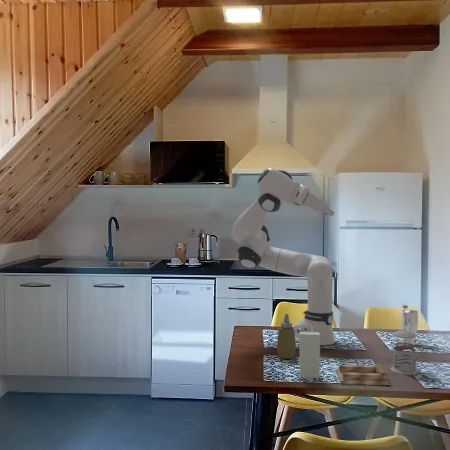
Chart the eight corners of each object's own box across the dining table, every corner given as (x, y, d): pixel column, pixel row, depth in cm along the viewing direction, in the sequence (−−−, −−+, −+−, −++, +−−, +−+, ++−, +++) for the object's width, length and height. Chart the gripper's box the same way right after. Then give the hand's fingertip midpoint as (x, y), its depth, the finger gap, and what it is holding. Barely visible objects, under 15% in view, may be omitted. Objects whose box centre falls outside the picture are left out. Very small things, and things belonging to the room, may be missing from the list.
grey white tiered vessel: (393, 364, 188) (394, 301, 188) (424, 369, 183) (425, 304, 182) (388, 371, 180) (389, 305, 179) (421, 377, 174) (422, 309, 173)
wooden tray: (341, 383, 167) (341, 372, 167) (335, 371, 180) (335, 360, 180) (387, 385, 166) (388, 374, 165) (379, 372, 179) (379, 362, 178)
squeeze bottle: (297, 355, 199) (298, 312, 199) (294, 361, 192) (294, 316, 191) (278, 353, 202) (279, 311, 202) (274, 359, 194) (274, 315, 194)
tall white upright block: (300, 378, 173) (300, 334, 172) (299, 374, 176) (299, 331, 176) (319, 378, 172) (320, 334, 172) (318, 375, 176) (319, 332, 175)
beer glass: (415, 342, 220) (415, 309, 220) (419, 346, 213) (420, 313, 213) (399, 341, 221) (400, 309, 220) (403, 345, 214) (404, 312, 214)
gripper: (292, 202, 189) (322, 219, 189) (297, 203, 169) (331, 222, 168) (300, 188, 189) (330, 205, 188) (306, 187, 168) (340, 206, 168)
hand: (331, 213), depth 178 cm, fingers open, 8 cm apart
